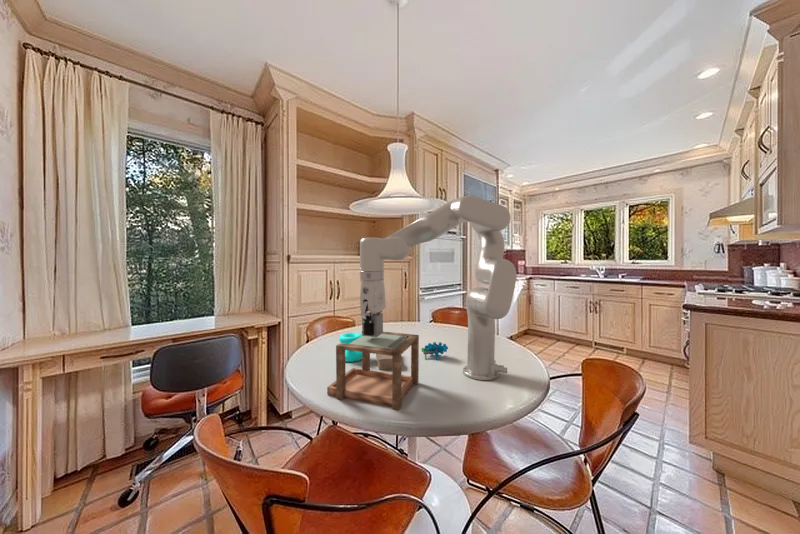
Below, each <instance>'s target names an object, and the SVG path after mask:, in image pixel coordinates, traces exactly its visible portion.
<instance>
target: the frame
mask: <svg viewBox="0 0 800 534" xmlns="http://www.w3.org/2000/svg"><path fill="white" fill-rule="evenodd" d="M382 334H389V335H399V336H407V339H406V340H405V341H404V342H402V343H401V344H400V345H399V346H398V347H397V348H395V349H394V350H393V349H385V348H376V347H368V346H359V345H351V344H342V343H341V342H339V343H338V344H336V345H335V365H336V367H335V368H336V369H335V370H336V372H335V373H336V374H335V377H336V378H335V379H336V380H335V381H333V382H332V383H330V384H329V385H328V386H327V390H326V391H327V392H326V395H327V394H329V395H328V396H331V395H333V396H332V397H336V400H341V399H342V400H344V399H348V400H354V401H360V402H365V403H371V404H376V405H382V406H387V407H391V408H392V410H394V411H395V410H396V411H400V409H401V408H402V400H403V399H404V398H405V396H406V395H407V393H408V392H409V390H410V389H411V388H412V387H413V385H414V386H415V385H416V386H417V385H418V384H419V374H420V373H419V366H420V365H419V362H420V361H419V360H420V359H419V355H420V354H419V351H420V346H419V345H420V343H419V342H420V341H419V339H420V338H419V337H420V335H419V334H413V333H401V332H391V331H383V333H382ZM410 347H411V348H410ZM409 348H410V351H411V352H410V359H411V360H410V375H403V374H402V355H403V354H404V353H405V351H407V350H408V349H409ZM345 350H350V351H358V352H362V359H361V360H362V366H361V367H362V368H356V367H352V368H351V369H349V370H348V371H347V372H346V361H345ZM371 354H375V355H376V354H382V355H390V356H392V369H391V370H392V371H391V372H385V371H384V372H383V371H378V370H371ZM342 400H341V401H342Z"/></svg>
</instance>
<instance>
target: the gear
mask: <svg viewBox="0 0 800 534" xmlns="http://www.w3.org/2000/svg"><path fill="white" fill-rule="evenodd" d="M420 349H421V350H420V351H421V352H422V354H423V355H424V360H427V355H432V356H433V355H434V360H435V361H439V357H438V355H439V354H441V355H443V354H444V353H447V350H448V349H449V346H447V344H446V343H442V342H440V341H439V342H438V343H437V342H436V341H433V342H432V343H430V342H429V343H427V344H425V345H424V347H421V348H420Z"/></svg>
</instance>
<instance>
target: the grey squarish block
mask: <svg viewBox="0 0 800 534" xmlns="http://www.w3.org/2000/svg"><path fill="white" fill-rule="evenodd" d="M368 313H371V312H370V311H368ZM368 316H369V317H370V315H368ZM372 323H374V335H373V336H371V335H364V323H363V318H362V317H361V325H362V326H361V327H362V328H361V334H362V336H370V337H378V336H379V335H381V334H382V333H383V332H384V313H382V312H381V313H376V314H373V322H372Z"/></svg>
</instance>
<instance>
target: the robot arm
mask: <svg viewBox="0 0 800 534" xmlns="http://www.w3.org/2000/svg"><path fill="white" fill-rule="evenodd" d="M511 219H512V218H511V213H510V211H509V209H508V208H507V207H506V206H504V205H502V204H499V203H496V202H493V201H490V200H486V199H484V198H480V197H478V196H473V195H464V196H461V197H457V198H455V199H452V200H450V201H448V202H446V203H445V204H443V205H441V206H439V207H437V208H436V209H434V210H433V211H431V212H429V213H428V214H427V213H426V215H424V216H422V217H419V218H418V219H416V220H414V222H412V223H410V224H408V225H405V226H404V227H403V228H401V229H398V230H397V231H396V232H395V231H394V232H393V233H392V234H389V235H388V236H386V237H383V238H381V237H363V238H361V239H360V241H359V269H360V270H359V271H360V272H359V276H360V277H359V278H360V279H359V281H360V282H361V283H360V294H359V306H360V316H361V319H362V318H363V323H364V335H371V336H373V335H374V323H372V322H373V314H376V313H382V312H383V310H385V308H386V289H385V283H384V281H385V268H384V267H385V264H384V262H385V260H389V261H401V260H404V259H405V258H406V257H408V255H409V253H410V250H411V248H414V247H415V246H417V245H420V244H424V243H427V242H431V241H434V240H436V239H438V238H439V237H442V236H443V235H444V234H446V233H447V232H450V231H451V230H452V229H455V228H456V227H458V226H459V225H461V224H464V223H469V224H470V225H471V228H472V229H473V230H474V231H475V233H476V234H477V236H478V238H479V243H480V245H479V252H478V256H477V261H476V267H475V271H474V272H475V279H476V280H477V281H478V282H479V283H481V284H484V285H486V286H487V285H488V288H487V287H482V286H478V287H474V288H472V289H470V290H469V292H467V294H466V298H465V308H466V313H467V362H466V363H467V365H466V366H464V367H463V368H462V373H463V374H464V375H465V376H466V377H468V378H470V379H474V380H478V381H492V380H496V379H498V377H499V373H503V374H508V367H505V365H504V364H503V365H502V364H501V365H500V364H498V363H496V360H495V350H496V348H495V346H496V345H495V343H496V342H495V341H496V339H495V338H496V324H495V322H496V321H495V320H500V319H501V320H502V319H503V318H506V316H507V314H509V312H510V309H511V307H512V303H513V297H514V293H515V288H516V284H517V283H516V282H517V269H516V267H515V265H514V263H513V262H511V260H509V259H505V258H504V253H505V239H504V236H503V233H502V232H501V231H503V230H505V229H506V228H507V227H508V226H509V224H510V222H511ZM369 312H370V313H369ZM368 315H370V317H369V316H368Z"/></svg>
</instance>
